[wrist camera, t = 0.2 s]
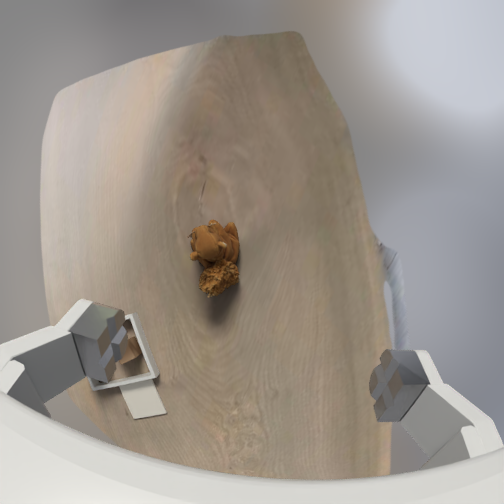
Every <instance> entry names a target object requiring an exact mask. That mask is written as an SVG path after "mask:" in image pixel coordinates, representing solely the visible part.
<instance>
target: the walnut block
mask: <svg viewBox="0 0 504 504" xmlns="http://www.w3.org/2000/svg"><path fill="white" fill-rule="evenodd" d="M141 353H142V350H141V348H140V346H139V344H138V342H137V340H136V338H135V337H132V338H130V339H128V344H127V348H126V352H125V354H124V356H123V358H122V359H121V360H119V362H120V364H124V363H126V362H128V361H130V360H132V359H134V358H136V357H137V356H138V355H140V354H141Z"/></svg>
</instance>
